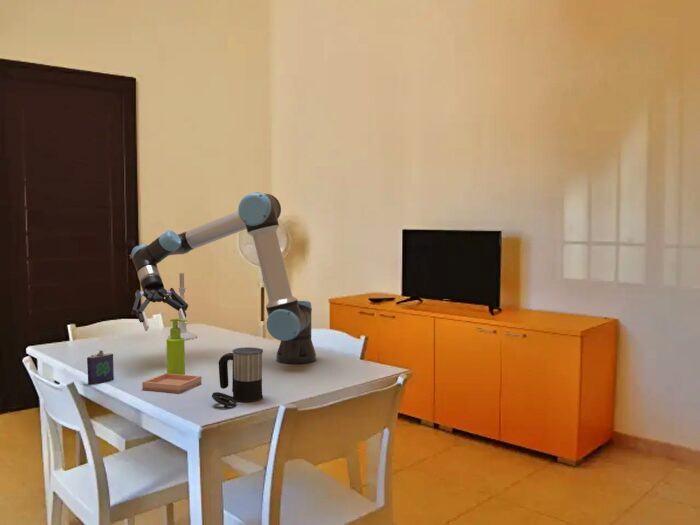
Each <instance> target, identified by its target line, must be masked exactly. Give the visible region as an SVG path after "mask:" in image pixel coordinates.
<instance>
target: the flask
mask: <svg viewBox="0 0 700 525" xmlns="http://www.w3.org/2000/svg"><path fill="white" fill-rule="evenodd" d="M86 361H87V362H86V364H87V385H89V386H90V385H97V384H102V383H107V382H110V381H111V380H112V381H114V380H113V379H115V374H114V353H112V352H108V353H104V350H102V349H99V352H98V353H97V354H94V355H93V354H91V355H90V356H87V357H86Z"/></svg>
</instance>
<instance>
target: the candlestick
mask: <svg viewBox="0 0 700 525" xmlns="http://www.w3.org/2000/svg"><path fill="white" fill-rule="evenodd" d="M178 276H179V287H178V288H177V289H178V292H179V296H180V297H181V298H182V299H183V300H184V301H185V300H186V299H185V292H186V287H185V273H182V272H181V273H179V275H178ZM185 302H186V301H185ZM178 319H180V318H179V317H178ZM185 319H186V318H185ZM186 320H187V319H186ZM178 328H180V333H181V338H184V341H191V340H190V339H192V340H195V339H194V338H196V339H198V334H195V333H193V332H190V331H188V330H187V325H186V326H185V327H183V326H182V324H181V321H178ZM168 338H170V335H168V337H167V339H168Z"/></svg>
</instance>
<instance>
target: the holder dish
mask: <svg viewBox="0 0 700 525" xmlns="http://www.w3.org/2000/svg"><path fill="white" fill-rule="evenodd" d="M199 385H200V386H201V385H202V376H201V375H190V374H185V375H181V374H170V373H167V372H165V373H163V374H160V375H157V376H155V377H153V378H150V379H147V380H144V381H142V390H143V391H150V392H160V393H168V394H169V393H170V394H182V393H184V392H186V391H189V390H191V389H193V388H195V386H196V387H198V386H199Z"/></svg>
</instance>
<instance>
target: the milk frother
mask: <svg viewBox="0 0 700 525" xmlns="http://www.w3.org/2000/svg"><path fill="white" fill-rule="evenodd" d="M263 353H264V349H263V348H259V347H252V346H251V347H236V348H234V349H232V352H228V353H225V354H224V355H222V356H221V357H220V358H219V360H218V375H219V376H218V377H219V388H220V389H223V390H225V389H227V388H228V387H229V366H228V364H229V363H228V362H229V361H232V376H231V377H232V378H231V379H232V385H231V386H232V389H231V391H232V395H229V394H226V393H224V392H219V391H215V392H212V394H211V398H212V399H213V400H214V401H215V402H216V403H218V404H220V405H222V406H223V407H224V408H227V407H234V406H236V405H237V402H242V403H251V402H252V403H253V402H258V401H261V400H262V399H263V398H264V396H263Z"/></svg>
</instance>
